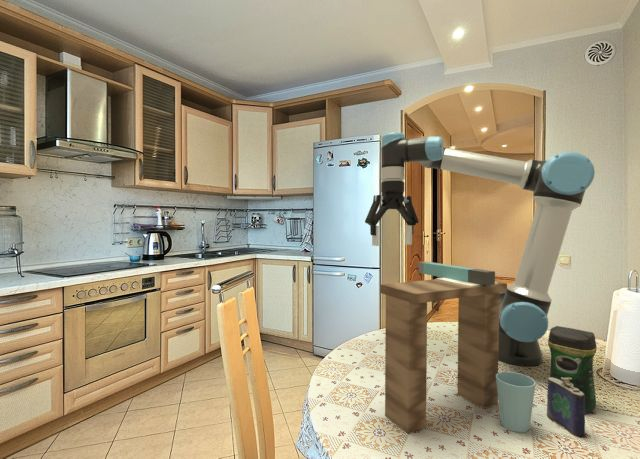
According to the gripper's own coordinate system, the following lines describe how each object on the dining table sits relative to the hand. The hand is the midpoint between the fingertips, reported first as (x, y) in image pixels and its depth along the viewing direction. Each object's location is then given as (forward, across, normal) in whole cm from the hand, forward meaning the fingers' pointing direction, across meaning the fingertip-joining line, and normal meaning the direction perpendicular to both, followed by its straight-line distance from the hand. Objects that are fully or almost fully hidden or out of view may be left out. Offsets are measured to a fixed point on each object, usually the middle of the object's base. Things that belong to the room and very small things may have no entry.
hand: (392, 245), depth 121 cm
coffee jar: (+37, -19, +46) cm, 62 cm away
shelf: (+37, +11, +34) cm, 51 cm away
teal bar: (+6, +4, +30) cm, 31 cm away
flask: (+37, -8, +51) cm, 64 cm away
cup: (+37, +2, +46) cm, 59 cm away
